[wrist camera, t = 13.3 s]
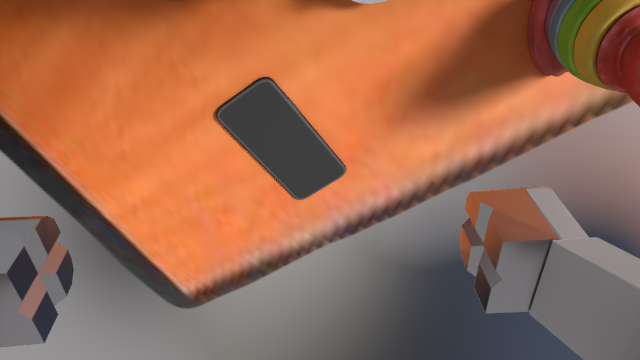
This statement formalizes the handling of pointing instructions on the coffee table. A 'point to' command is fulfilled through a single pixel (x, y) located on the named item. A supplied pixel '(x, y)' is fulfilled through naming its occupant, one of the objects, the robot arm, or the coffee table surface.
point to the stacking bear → (588, 41)
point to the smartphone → (281, 138)
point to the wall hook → (369, 1)
